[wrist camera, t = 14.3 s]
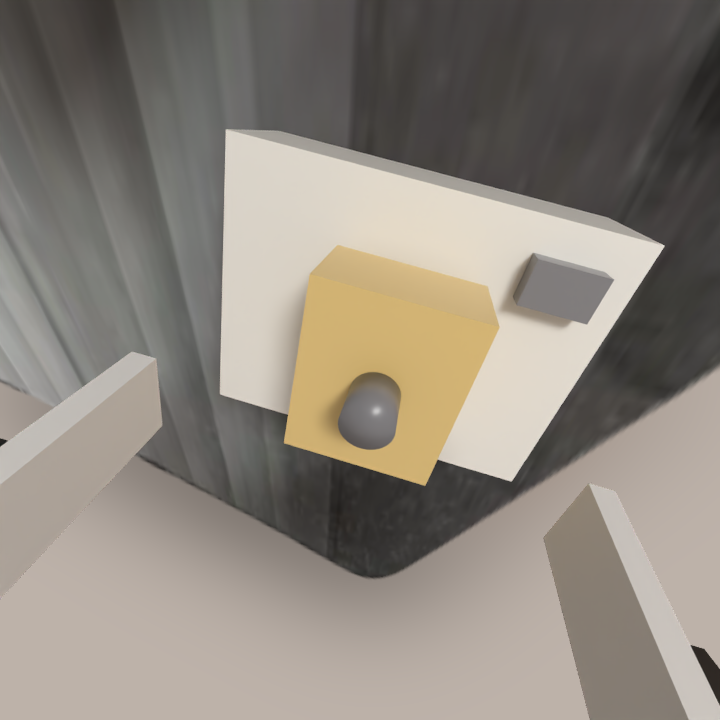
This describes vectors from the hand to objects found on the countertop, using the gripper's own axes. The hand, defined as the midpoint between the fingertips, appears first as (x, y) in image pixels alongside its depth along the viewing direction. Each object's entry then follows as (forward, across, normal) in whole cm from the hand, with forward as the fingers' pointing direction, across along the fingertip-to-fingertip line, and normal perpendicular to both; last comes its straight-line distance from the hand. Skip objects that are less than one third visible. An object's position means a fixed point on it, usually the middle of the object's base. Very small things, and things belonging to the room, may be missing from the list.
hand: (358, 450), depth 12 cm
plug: (+14, 0, 0) cm, 14 cm away
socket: (+14, 0, 0) cm, 14 cm away
